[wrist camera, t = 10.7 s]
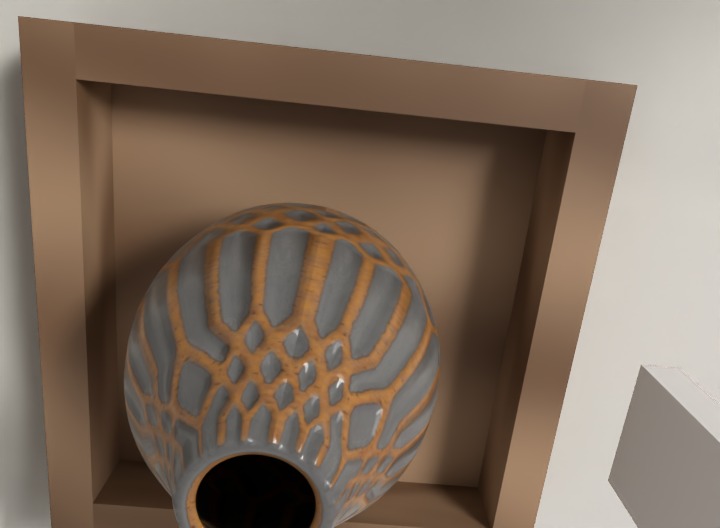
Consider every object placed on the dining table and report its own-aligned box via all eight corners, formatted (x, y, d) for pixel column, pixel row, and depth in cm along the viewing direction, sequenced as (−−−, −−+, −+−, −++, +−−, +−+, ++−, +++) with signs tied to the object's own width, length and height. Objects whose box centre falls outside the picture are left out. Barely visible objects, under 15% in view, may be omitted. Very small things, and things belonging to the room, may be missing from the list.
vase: (168, 379, 17) (1, 649, 9) (201, 156, 16) (27, 239, 7) (387, 422, 18) (421, 712, 10) (446, 212, 16) (552, 348, 8)
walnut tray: (72, 28, 15) (17, 16, 13) (592, 85, 16) (637, 84, 13) (90, 476, 19) (51, 534, 17) (502, 507, 20) (524, 567, 17)
